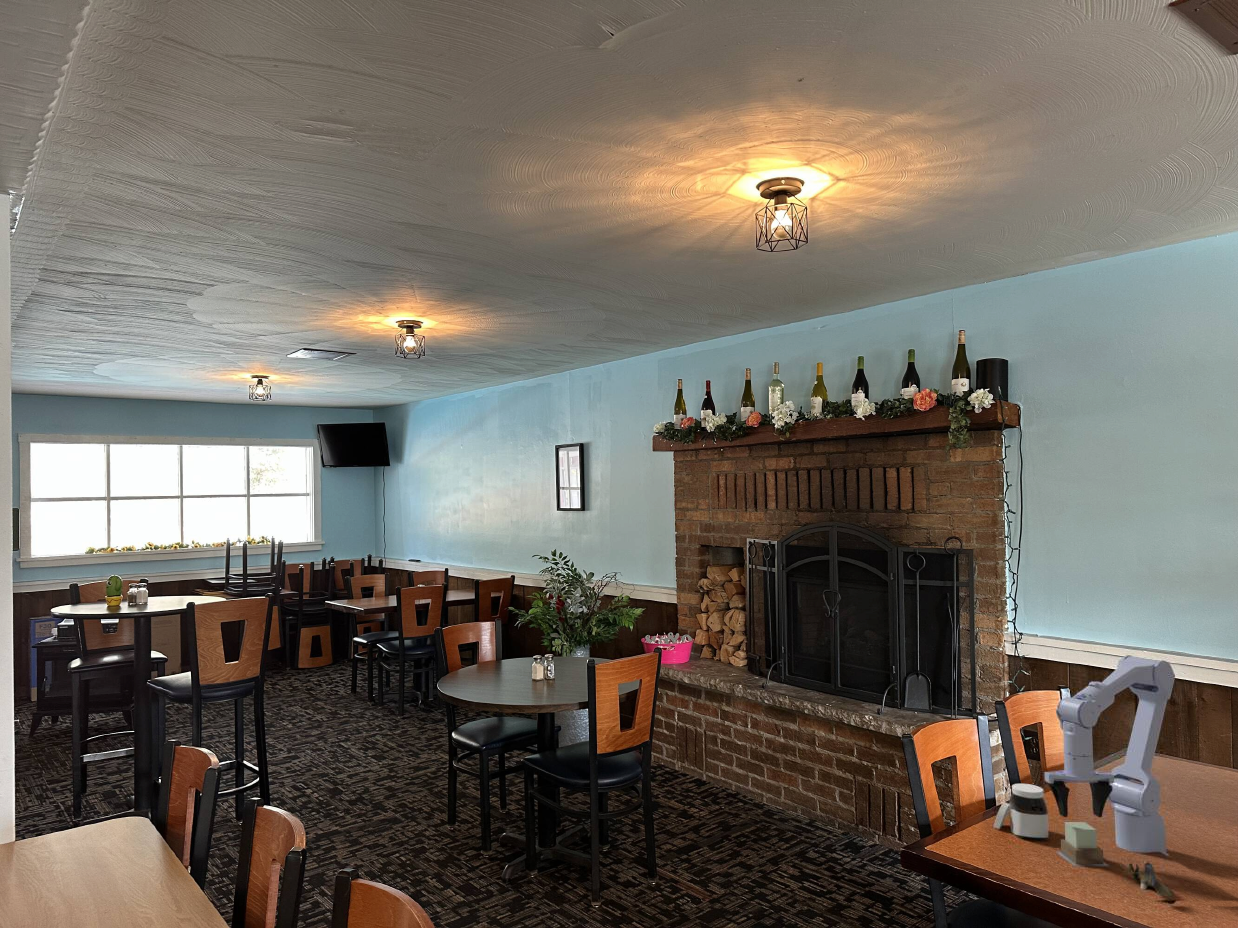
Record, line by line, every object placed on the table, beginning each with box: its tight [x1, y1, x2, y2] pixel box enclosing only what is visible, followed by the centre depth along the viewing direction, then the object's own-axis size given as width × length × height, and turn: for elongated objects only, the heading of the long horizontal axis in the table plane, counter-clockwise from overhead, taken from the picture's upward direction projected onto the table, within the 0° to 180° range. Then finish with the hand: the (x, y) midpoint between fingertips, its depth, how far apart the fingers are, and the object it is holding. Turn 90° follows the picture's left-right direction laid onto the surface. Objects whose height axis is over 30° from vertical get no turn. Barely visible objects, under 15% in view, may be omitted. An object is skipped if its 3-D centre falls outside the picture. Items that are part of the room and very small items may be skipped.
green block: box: [1064, 821, 1098, 848], centre depth 183 cm, size 4×4×4 cm
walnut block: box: [1060, 838, 1104, 864], centre depth 183 cm, size 6×6×3 cm
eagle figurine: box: [1119, 860, 1177, 905], centre depth 168 cm, size 8×7×9 cm
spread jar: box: [993, 783, 1049, 842], centre depth 199 cm, size 12×11×12 cm
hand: (1080, 815), depth 183 cm, fingers open, 7 cm apart
